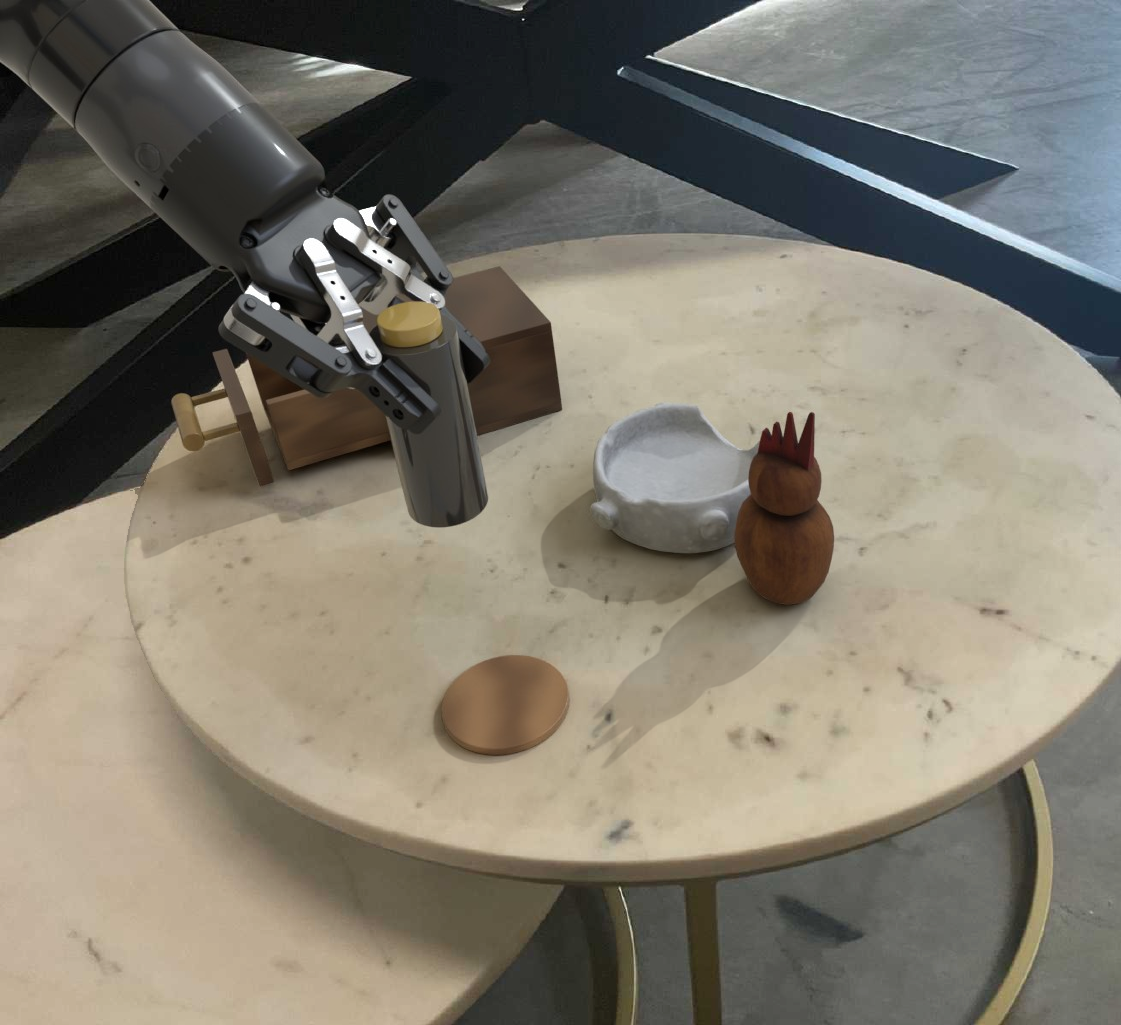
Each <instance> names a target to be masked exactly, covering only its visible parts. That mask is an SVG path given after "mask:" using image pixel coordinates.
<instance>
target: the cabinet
mask: <svg viewBox="0 0 1121 1025" xmlns="http://www.w3.org/2000/svg"><path fill="white" fill-rule="evenodd" d="M396 296H397V297H399V298H401V299H402V300H404V301H405V302H413V301H412V300H411V299H409V298H407V297H406V296H404V295H402V294H397V295H396ZM444 299H445V306H446V308H447V309H448V311H449V312H450V313H451V314H452V315H453V316H454V317H455V318H456V319H457V320H458V321H459V322H460V323H461V324H462V325H463V326H464V327H466V328H467V330H468V331H470V332H471V333H472V334H473V336H475V337H476V338H477V339H478V340H479V341H480V342H481V344H482V345H483V347H484V349H485V350H486V353H487V354H488V355H489V357H490V363H489V365H488V366H487V367H486V368H485V369H484V370H483V371H482V372H481V373H480V374H479V375H478V376H477V377H476V378H475V379H474V380H473V381H472V382H471V383H467V384H468V390H469V395H470V401H471V406H472V411H473V417H474V422H475V427H476V433H477V436H480V435H483V434H487V433H490V432H494V431H497V430H500V429H503V428H507V427H510V426H513V425H516V424H520V423H523V422H526V421H530V420H533V419H537V418H539V417H543V416H546V415H549V414H553V413H557V412H560V411H563V404H562V395H561V388H560V387H561V386H560V380H559V372H558V367H557V366H558V365H557V358H556V357H557V356H556V350H555V344H554V335H553V328H552V322H551V320H550V319H549V318H547V316H546V315H545V314H544V313H543V312H542V311H541V310H540V309H539V308H538V306H537V305H536V304H535V303H534V302H533V301H532V300H531V299H530V297H529V296H528V295H527V294H526V293H525V292H524V291H523V290H522V289H521V288H520V286H519V285H517V283H516V282H515V281H514V280H513V279H512V278H511V277H510V275H509V274H508V273H507V272H506V271H505V270H504V269H503V268H502V266H500V265H499V266H494V267H492V268H487V269H483V270H479V271H476V272H471V273H468V274H463V275H460V276H454V277H453V282H452V284H451V285H450V286H449V287H448V289H447V292H446V295H445V298H444ZM359 307H360V306H359ZM360 308H361V310H362V313H363V325H364V327H365V329H366V330H367V332H368V333H369V332H370V331H371V330H372V329H373V328H374V327H375V326H377V317H378V315H374V314H372V313H370V312H368V311H367V310H365V309H363V308H362V307H360ZM389 441H390V442H391V440H389Z"/></svg>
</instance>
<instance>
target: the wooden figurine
mask: <svg viewBox="0 0 1121 1025" xmlns="http://www.w3.org/2000/svg"><path fill="white" fill-rule="evenodd" d="M815 419H816V414H815V413H814V411H810V412H809V413H808V415H807V418H806V421H805V424H804V426H803V429H802V432H801V435H800V438H799V440H798V435H797V429H796V423H795V418H794V413H793V412H792V411H789V412H787V414H786V419H785V425H784V431H782V427H781V423H780V422H779V421H775V422H774V423H773V424H772V429H771V430H772V431H770V429H769V428H768V427H765V428H764V429H763V430H762V431H761V435H760V438H759V441H760V443H759V448H758V453H757V454H756V455H755V456H754V457H753V459H752V462H751V464H750V469H749V477H748V482H749V489H750V492H751V494H750V495H749V496H748V497H747V498H746V499H745V500H744V501H743V503H742V505H741V507H740V510H739V512H738V517H737V522H736V528H735V534H734V538H735V542H734V550H735V552H736V555H737V556H736V557H737V559H738V562H739V563H740V565H741V568H742V570H743V572H744V574H745V576H746V578H747V580H748V582H749V585H750V587H751V588H752V589H753V590H754V591H755V592H756V593H757V594H758V595H759V596H761V597H763V598H764V599H765V600H768V601H770V602H773V603H775V604H778V605H787V606H788V605H789V606H790V605H796V604H800V603H803V602H805V601H808V600H810V599H811V598H813V596H814V595H815V594H816V593H817V591H818V590H820V588H821V587H822V586H823V584H824V583H825V582H826V579H827V577H828V574H829V572H830V567H831V564H832V559H833V555H834V554H833V553H834V546H835V530H834V525H833V522H832V519H831V516H830V515H829V513H828V512H827V510H826V509H825V506H823V505H822V503H821V502H820V501H819V500H818V499H819V497H820V493H821V489H822V472H821V468H820V464H819V462H818V460H817V458H816V457H815V435H816V434H815V433H816V432H815V430H816V429H815V428H816V426H815V425H816V424H815V423H816V422H815V421H816V420H815Z"/></svg>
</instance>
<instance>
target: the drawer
mask: <svg viewBox="0 0 1121 1025" xmlns="http://www.w3.org/2000/svg"><path fill="white" fill-rule="evenodd" d="M346 346H347V345H346ZM347 348H348V346H347ZM348 349H349V348H348ZM349 351H350V349H349ZM350 352H351V351H350ZM245 355H246V358H247V361H248V364H249V367H250V371H251V374H252V376H253V380H254V383H255V386H256V390H257V392H258V395H259V399H260V402H261V404H262V408H263V411H264V414H265V416H266V419H267V422H268V423H269V426H270V428H271V431H272V434H273V436H274V439H275V441H276V443H277V446H278V449H279V451H280V453H281V456H282V457H283V461H284V463H285V465H286V468H287V471H291V470H295V469H298V468H301V467H305V466H308V465H311V464H314V463H315V464H316V463H319V462H322V461H325V460H329V459H332V458H335V457H338V456H339V457H340V456H342V455H346V454H348V453H352V452H355V451H359V450H363V449H365V448H368V447H369V448H370V447H372V446H376V445H379V444H382V443H386V442H389V441H390V435H389V431H388V427H387V423H386V419H385V415H384V413H383V411H381V410H380V409H379V408H378V407H377V406H376V405H374V404H373V403H372V402H371V401H370V400H369V399H368V398H367V397H366V396H365V395H364V394H363V393H362V392H361V391H359V390H357V389H349V388H343V389H339V390H336V391H333V392H332V393H331V394H330V395H329V396H328V397H327V398H319V397H316V396H315V395H313V394H311V393H310V392H308V391H307V390H305V389H303V388H302V387H300V386H299V385H297V384H295V383H294V382H292V381H290V380H289V379H287V378H286V377H284V376H282V375H281V374H279V373H278V372H276V371H274V370H273V369H271V368H270V367H268V366H266V365H265V364H263V363H262V362H260V361H258V360H257V359H255V358H254V357H252V356H250V355H249V354H247V353H246V352H245ZM298 356H299V355H298ZM212 357H213V359H214V362H215V365H216V367H217V370H218V374H219V376H220V380H221V382H222V385H223V388H221V389H217V390H213V391H209V392H206V393H205V392H204V393H201V394H199V395H195V396H190V395H189V394H187V393H182V392H180V393H177V394H175V395H174V396H173V397H172V398H171V407H172V411H173V413H174V418H175V421H176V426H177V428H178V432H179V436H180V440H181V443H182V446H183V448H184V449H186V450H187V451H189V452H197V451H200V450H201V449H203V447H204V446H205V443H206V442H207V441H211V440H215V439H219V438H222V437H225V436H229V435H233V434H237V433H239V434H240V437H241V439H242V443H243V445H244V448H245V451H246V453H247V456H248V459H249V462H250V464H251V468H252V471H253V474H254V476H255V478H256V481H257V485H258V487H260V488H261V487H265V486H267V485H271V484H274V483H275V479H274V476H273V474H272V471H271V467H270V464H269V461H268V458H267V455H266V452H265V449H264V446H263V442H262V440H261V437H260V434H259V431H258V428H257V425H256V422H255V419H254V416H253V413H252V409H251V408H250V405H249V403H248V400H247V397H246V395H245V392H244V389H243V386H242V384H241V382H240V379H239V376H238V374H237V372H236V369H235V366H234V364H233V361H232V358H231V356H230V353H229V350H228V348H223V349H220V350H217V351H216V350H215V351H213V352H212ZM299 357H300V358H302V359H304V360H305V361H307V362H308V363H310V364H311V365H313V366H315V367H316V368H319V367H318V366H316V365H315V364H313V363H311V362H310V361H308V360H307V359H305V358H304V357H302V356H299ZM223 399H228V403H229V405H230V409H231V411H232V415H233V417H234V421H235V422H233V423H229V424H225V425H222V426H218V427H215V428H212V429H208V430H204V431H203V430H202V427H201V424H200V421H199V417H198V415H197V411H196V408H195V407H196V406H197V407H198V406H200V405H204V404H208V403H211V402H215V401H219V400H223Z"/></svg>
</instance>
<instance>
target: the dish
mask: <svg viewBox="0 0 1121 1025" xmlns="http://www.w3.org/2000/svg"><path fill="white" fill-rule="evenodd" d="M759 443H760V440H759V441H758V442H756V444H755V445H754V446H753V447H751V448H749V449H742V448H739V447H738V446H736V445H734V444H733V443H731V441H728V439H727V438H725V437H724V436H723V435H722V434H721V433H720V431H718V429H717V428H716V427H715V426H714V425H713V424H712V423H711V421H709V420H708V418H707V417H706V416H705V414H704V412H702V410H701V408H700V407H699V406H697V405H695V404H691V403H674V402H668V401H663V402H659V403H657V404H654V406H649V407H646V408H642V409H639V410H637V411H634V412H632V413H629V414H628V415H626V416H624V417H622V418H620V419H618V420H616V421H615V422H613V423H612V424H611V425H609V427H608V428H607V429H606V431H605V432H604V434H603V435H602V436H601V437H600V438H599V439H598V441H597V444H596V446H595V449H594V453H593V461H592V478H593V487H594V494H595V499H596V501H595V502H593V503H592V504H591V506H590V507H589V509H590V513H591V516H592V519H593V520H594V521H595V522H596V524H597V525H598V526H599V527H600V528H602V529H604V530H606V531H613V532H614V533H615V534H616V535H618V537H620V538H621V539H623V540H625V541H627V542H629V543H631V544H634V545H637V546H639V547H642V548H646V549H649V550H654V551H658V552H666V553H674V554H677V553H678V554H699V553H706V552H712V551H713V552H714V551H716V550H719V549H722V548H725V547H728V546H730V545H732V544H735V538H734V534H735V528H736V522H737V517H738V512H739V510H740V507H741V505H742V503H743V501H744V500H745V499H746V498H747V497H748V496H749V495H750V494H751V492H750V489H749V482H748V477H749V469H750V464H751V462H752V459H753V457H754V456H755V455H756V454H757V453H758V448H759Z"/></svg>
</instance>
